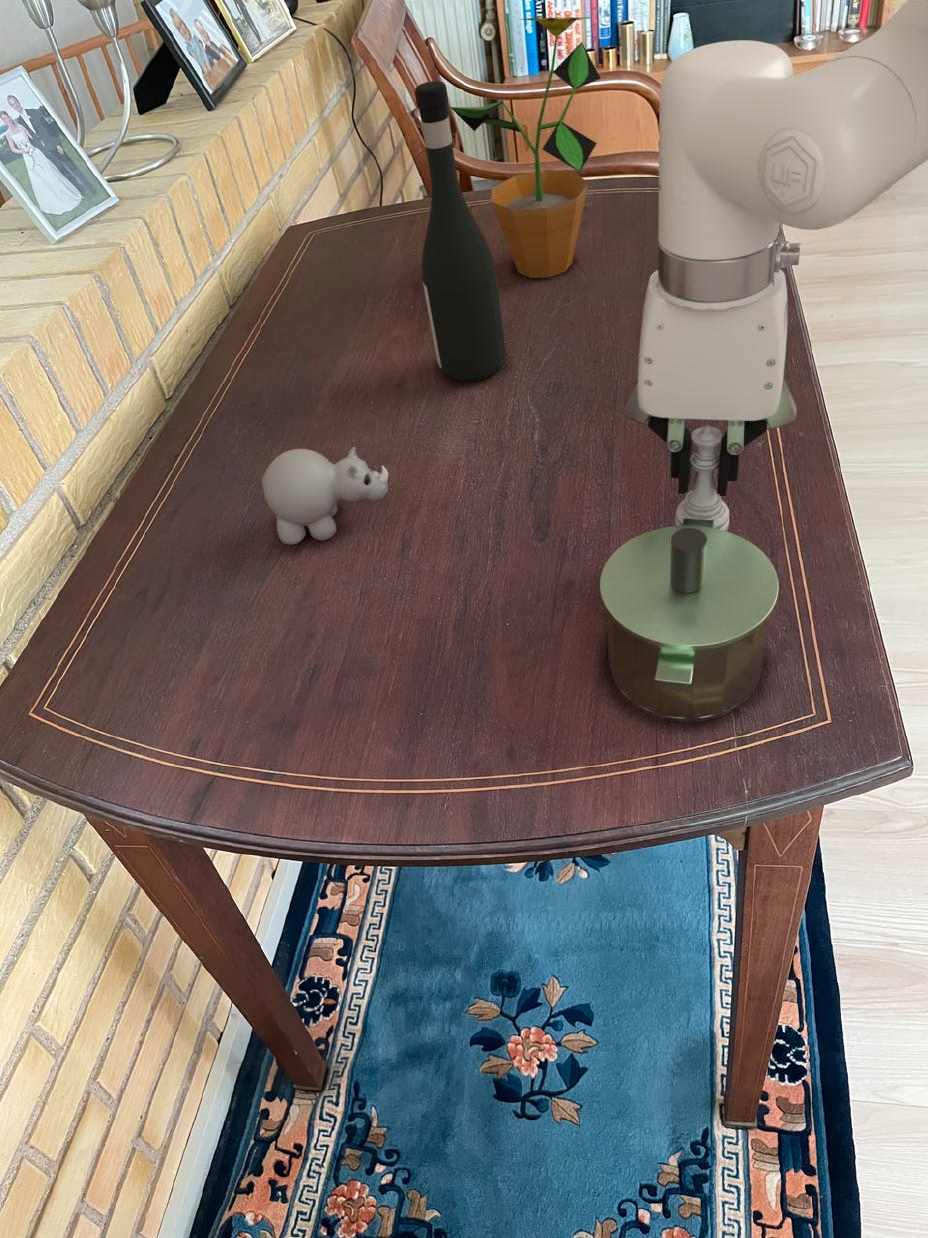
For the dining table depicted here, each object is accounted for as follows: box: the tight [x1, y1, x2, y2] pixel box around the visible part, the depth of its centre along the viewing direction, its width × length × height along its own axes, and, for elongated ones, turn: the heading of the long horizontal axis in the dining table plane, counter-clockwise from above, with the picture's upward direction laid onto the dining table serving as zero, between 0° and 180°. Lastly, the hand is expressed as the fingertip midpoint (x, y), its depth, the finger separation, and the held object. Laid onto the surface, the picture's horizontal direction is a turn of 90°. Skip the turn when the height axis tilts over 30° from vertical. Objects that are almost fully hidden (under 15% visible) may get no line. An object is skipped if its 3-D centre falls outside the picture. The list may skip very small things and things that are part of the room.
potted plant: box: [450, 17, 601, 279], centre depth 113 cm, size 18×19×30 cm
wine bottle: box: [414, 80, 507, 383], centre depth 97 cm, size 8×8×30 cm
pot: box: [606, 518, 769, 723], centre depth 69 cm, size 11×17×8 cm
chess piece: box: [674, 424, 730, 532], centre depth 73 cm, size 4×4×10 cm
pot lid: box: [599, 525, 780, 650], centre depth 64 cm, size 12×12×5 cm
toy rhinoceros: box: [261, 446, 389, 546], centre depth 88 cm, size 7×12×8 cm, turn 93°
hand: (703, 482), depth 74 cm, fingers closed on chess piece, 2 cm apart
